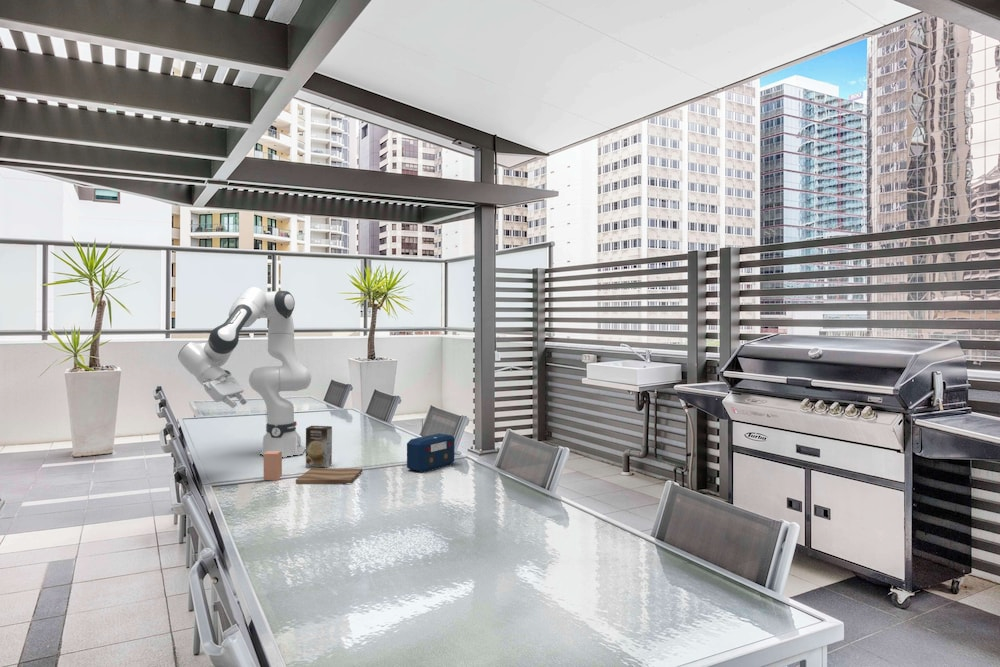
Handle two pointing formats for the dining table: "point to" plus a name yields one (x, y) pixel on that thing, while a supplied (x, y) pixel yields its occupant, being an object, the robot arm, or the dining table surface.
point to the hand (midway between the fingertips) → (240, 404)
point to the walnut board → (329, 476)
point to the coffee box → (318, 446)
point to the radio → (430, 452)
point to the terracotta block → (272, 465)
